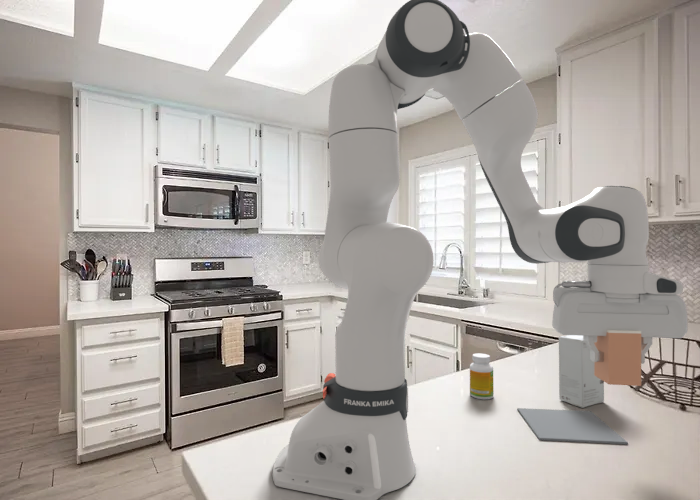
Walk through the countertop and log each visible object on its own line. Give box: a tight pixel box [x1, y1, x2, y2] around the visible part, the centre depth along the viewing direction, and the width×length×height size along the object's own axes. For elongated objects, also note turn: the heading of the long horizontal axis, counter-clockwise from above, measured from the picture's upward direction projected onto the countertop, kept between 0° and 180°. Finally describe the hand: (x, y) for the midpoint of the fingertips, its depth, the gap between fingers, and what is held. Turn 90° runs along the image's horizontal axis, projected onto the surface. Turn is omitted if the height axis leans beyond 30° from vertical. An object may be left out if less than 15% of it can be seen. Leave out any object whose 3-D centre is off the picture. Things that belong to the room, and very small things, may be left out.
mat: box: [516, 407, 629, 445], centre depth 80 cm, size 15×14×1 cm
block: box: [594, 330, 642, 387], centre depth 69 cm, size 5×5×9 cm
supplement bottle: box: [469, 352, 494, 400], centre depth 97 cm, size 5×5×10 cm
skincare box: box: [558, 335, 605, 409], centre depth 93 cm, size 8×6×15 cm
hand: (616, 362), depth 69 cm, fingers closed on block, 5 cm apart
